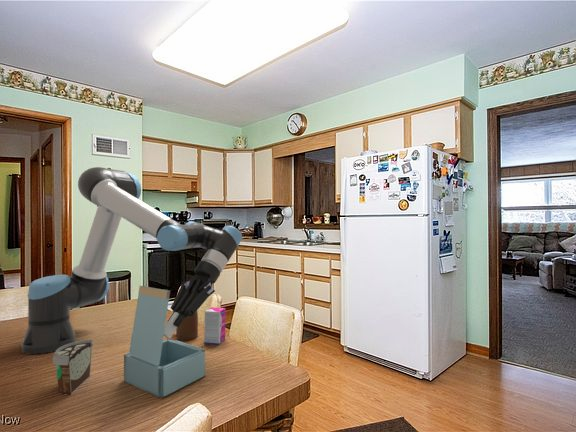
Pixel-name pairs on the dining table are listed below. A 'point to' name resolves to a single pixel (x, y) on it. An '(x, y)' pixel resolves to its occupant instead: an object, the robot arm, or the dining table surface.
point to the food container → (73, 365)
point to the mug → (188, 328)
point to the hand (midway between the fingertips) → (165, 335)
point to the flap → (149, 324)
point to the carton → (166, 369)
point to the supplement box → (214, 325)
